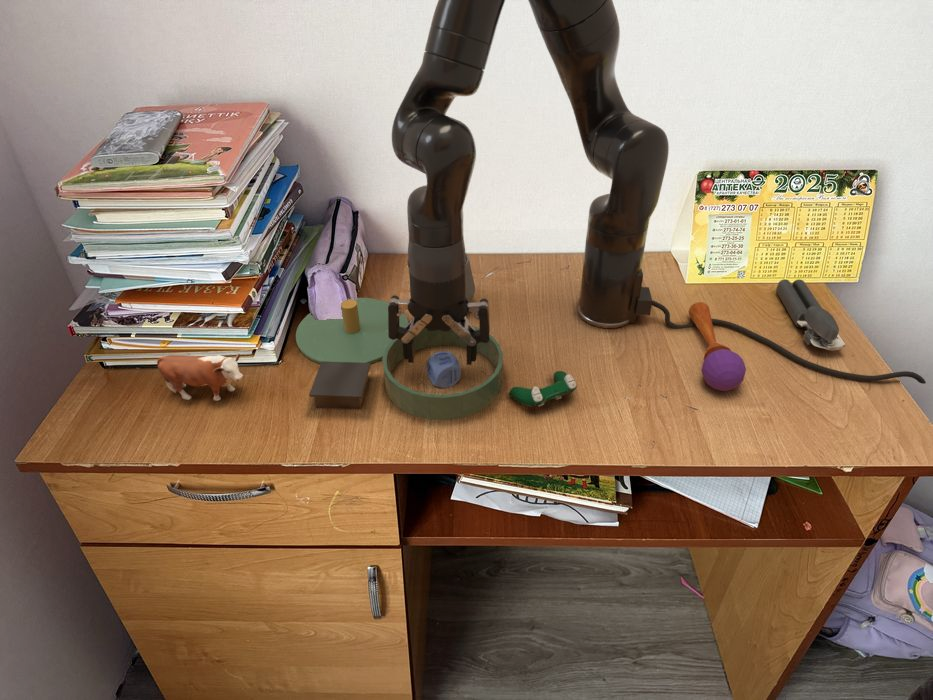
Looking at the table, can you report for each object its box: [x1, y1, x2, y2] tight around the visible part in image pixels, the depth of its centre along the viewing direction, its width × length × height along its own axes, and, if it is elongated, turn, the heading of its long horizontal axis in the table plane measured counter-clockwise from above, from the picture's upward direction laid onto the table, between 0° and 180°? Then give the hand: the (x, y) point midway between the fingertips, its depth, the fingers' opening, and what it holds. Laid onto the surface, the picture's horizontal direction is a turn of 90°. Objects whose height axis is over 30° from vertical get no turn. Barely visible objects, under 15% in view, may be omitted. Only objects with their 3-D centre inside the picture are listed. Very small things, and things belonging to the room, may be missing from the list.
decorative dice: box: [425, 350, 462, 389], centre depth 100 cm, size 4×4×4 cm
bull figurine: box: [156, 353, 245, 402], centre depth 97 cm, size 4×13×8 cm, turn 78°
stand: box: [309, 362, 372, 410], centre depth 98 cm, size 8×8×4 cm
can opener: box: [775, 278, 846, 351], centre depth 109 cm, size 19×5×6 cm, turn 178°
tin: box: [381, 325, 504, 421], centre depth 100 cm, size 18×18×5 cm
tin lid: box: [295, 297, 409, 365], centre depth 109 cm, size 18×18×6 cm
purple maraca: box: [688, 301, 747, 392], centre depth 104 cm, size 6×6×20 cm
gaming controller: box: [508, 370, 578, 408], centre depth 97 cm, size 9×4×6 cm
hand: (440, 360), depth 99 cm, fingers open, 8 cm apart
